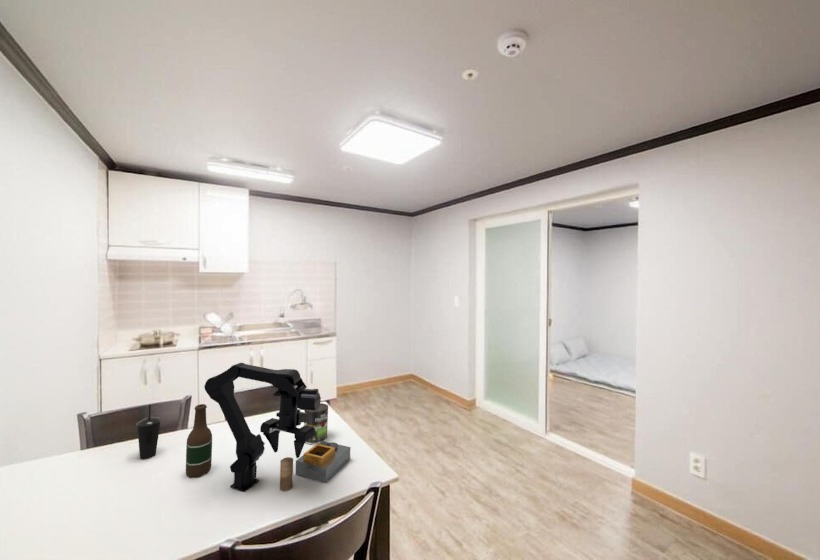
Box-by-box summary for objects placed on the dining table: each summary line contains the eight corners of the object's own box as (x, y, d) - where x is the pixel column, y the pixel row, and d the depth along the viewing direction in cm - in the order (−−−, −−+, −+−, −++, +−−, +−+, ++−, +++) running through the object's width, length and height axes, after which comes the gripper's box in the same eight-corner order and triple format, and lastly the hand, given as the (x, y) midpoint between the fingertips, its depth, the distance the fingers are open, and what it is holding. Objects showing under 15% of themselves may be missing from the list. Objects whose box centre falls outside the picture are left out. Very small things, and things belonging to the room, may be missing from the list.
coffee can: (332, 438, 144) (333, 406, 144) (312, 447, 136) (313, 413, 136) (317, 431, 150) (318, 401, 150) (298, 439, 142) (299, 407, 142)
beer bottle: (198, 480, 112) (200, 410, 112) (179, 476, 113) (182, 408, 113) (216, 467, 119) (218, 402, 120) (198, 464, 121) (200, 400, 121)
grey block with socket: (325, 483, 111) (326, 461, 111) (295, 474, 116) (296, 453, 116) (350, 459, 126) (350, 440, 126) (322, 453, 131) (322, 434, 131)
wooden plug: (286, 492, 106) (287, 464, 106) (277, 489, 107) (277, 462, 108) (295, 485, 110) (295, 458, 110) (285, 482, 111) (286, 456, 111)
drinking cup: (165, 451, 129) (167, 401, 130) (148, 462, 122) (149, 409, 122) (147, 450, 130) (149, 400, 130) (129, 460, 122) (131, 408, 123)
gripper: (325, 404, 113) (324, 449, 113) (283, 396, 120) (281, 439, 120) (305, 416, 103) (303, 465, 103) (259, 407, 109) (258, 453, 109)
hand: (286, 454), depth 109 cm, fingers open, 9 cm apart
